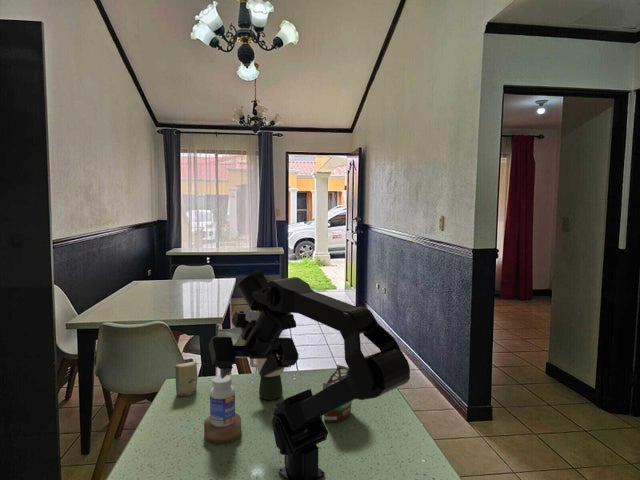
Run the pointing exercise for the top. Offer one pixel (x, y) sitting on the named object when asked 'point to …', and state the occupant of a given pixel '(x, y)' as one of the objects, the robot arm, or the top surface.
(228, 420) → the pill bottle
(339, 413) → the food container
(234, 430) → the brown round smooth part
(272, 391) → the character mug
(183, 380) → the beige rounded block
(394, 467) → the top surface
